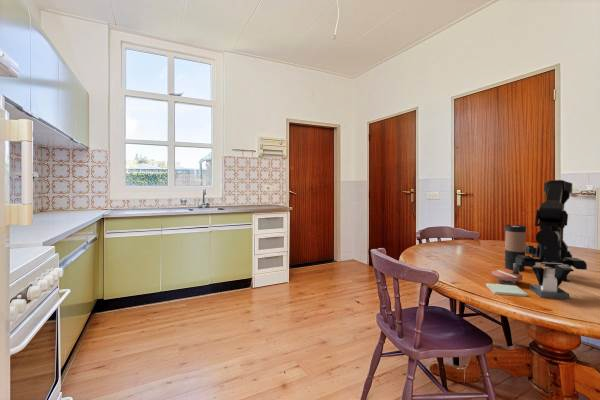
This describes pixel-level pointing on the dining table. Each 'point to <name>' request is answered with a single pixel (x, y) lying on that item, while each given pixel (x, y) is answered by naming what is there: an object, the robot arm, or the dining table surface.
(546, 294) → the dark grey square frame
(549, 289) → the pepper shaker
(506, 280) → the wheel post
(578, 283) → the dining table surface
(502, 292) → the board
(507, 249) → the travel mug
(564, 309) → the dining table surface
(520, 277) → the handwheel
